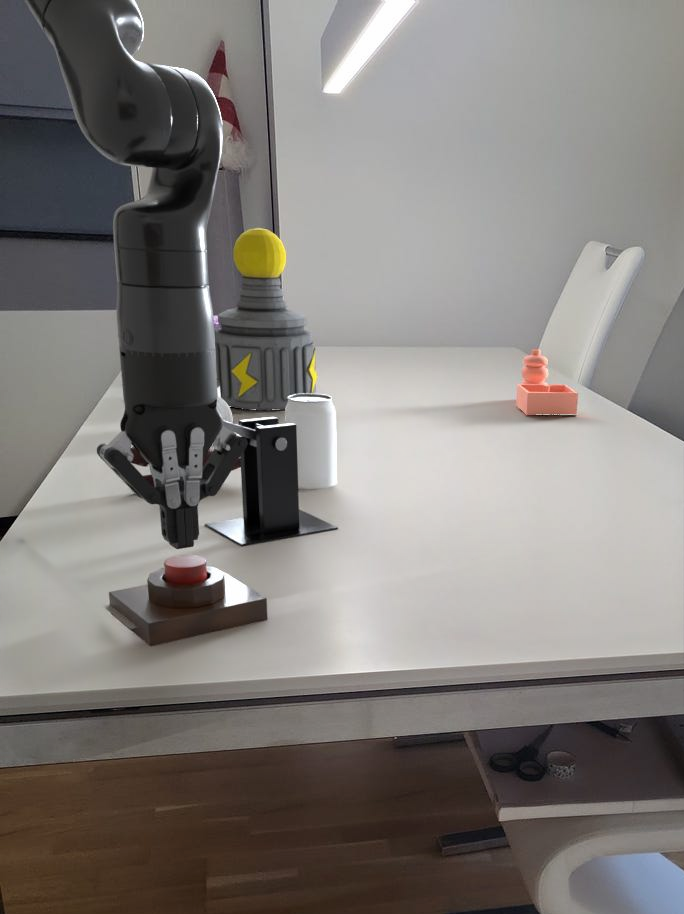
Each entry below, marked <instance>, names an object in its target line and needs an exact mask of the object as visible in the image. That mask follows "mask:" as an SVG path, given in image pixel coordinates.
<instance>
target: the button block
mask: <svg viewBox="0 0 684 914" xmlns="http://www.w3.org/2000/svg"><path fill="white" fill-rule="evenodd" d="M206 567H207V580H205V581H203V582H199V583H193V584H173V583H167V582H166V580H165V570H164V567H161V568H159V569H157V570H154V571H153V572H150V573H149V575H148V578H147V579H146V583H147V584H144V585H138V586H134V587H133V586H132V587H128V588H123V589H117V590H113V591H108V599H109V605H110V606H111V607H112V608H113V609H114V610H115V611H117V612H118V613H119V614H121V615H122V616H123V617H124V618H126V620H128V621H129V622H130V623H131V624H133V625H134V626H135V627H134V628H130V627H129V626H128V625H126V624H125V623H124V622H123V621H122V620H120V619H119V618H118V617H117V616H116V615H114V614H113V613H112V612H110V614H111V615H112V616H113V617H114V618H115V619H117V620H118V621H119V622H120V623H121V624H122V625H124V626H125V627H126V628H127V629H128V630H130V631H131V632H132V633H134V635H136V636H137V637H138V638H139V639H141V640H142V641H143V642H144V643H146V644H147V645H148V646H149V647H154V646H155V647H156V646H159V645H163V644H168V643H172V642H177V641H181V640H185V639H189V638H194V637H198V636H203V635H207V634H208V635H209V634H212V633H216V632H220V631H226V630H230V629H234V628H239V627H241V626H247V625H252V624H256V623H260V622H265V621H268V599H267V597H265V596H263V595H262V594H261V593H259V592H257V591H256V590H254V589H253V588H251V587H249V586H248V585H246V584H244V583H243V582H241V581H239V580H238V579H236V578H234V577H233V576H232V575H230V574H229V573H227V572H225V571H224V570H222V569H219V568H218V567H216V566H211V565H206Z"/></svg>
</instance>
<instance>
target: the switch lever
mask: <svg viewBox="0 0 684 914" xmlns="http://www.w3.org/2000/svg"><path fill="white" fill-rule="evenodd" d="M223 425H224V426H225V427H227V428H228V429H229V430H231V431H232V432H233V433H236V434H238V435H240V436H243V437H246V438H250V439H251V440H250V445H252V446H254V447H257V446H256V427H260V426H263V425H260V424H257V423H255V426H254V430H253V429H250V428H247V427H244V426H240V425H239V424H237V423H234V422H233V423H230V422H227V421H224V420H223Z"/></svg>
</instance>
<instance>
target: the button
mask: <svg viewBox="0 0 684 914" xmlns="http://www.w3.org/2000/svg"><path fill="white" fill-rule="evenodd" d="M206 566H207V559H206V558H205V557H203V556H201V555H195V554H180V555H174V556H170V557H168V558H166V559H165V560H164V562H163V568H164V570H165V580H166V582H167V583H173V584H193V583H199V582H203V581H205V580H207V567H206Z"/></svg>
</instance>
